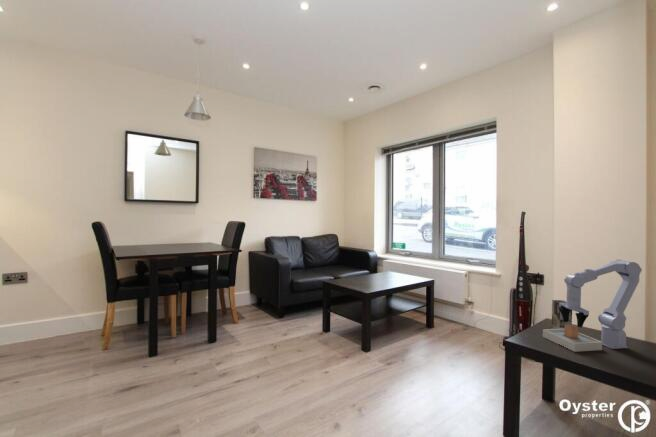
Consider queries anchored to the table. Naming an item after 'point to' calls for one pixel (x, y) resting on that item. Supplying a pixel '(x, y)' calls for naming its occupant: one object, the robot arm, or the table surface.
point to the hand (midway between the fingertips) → (572, 324)
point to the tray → (570, 344)
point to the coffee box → (559, 315)
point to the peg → (571, 331)
